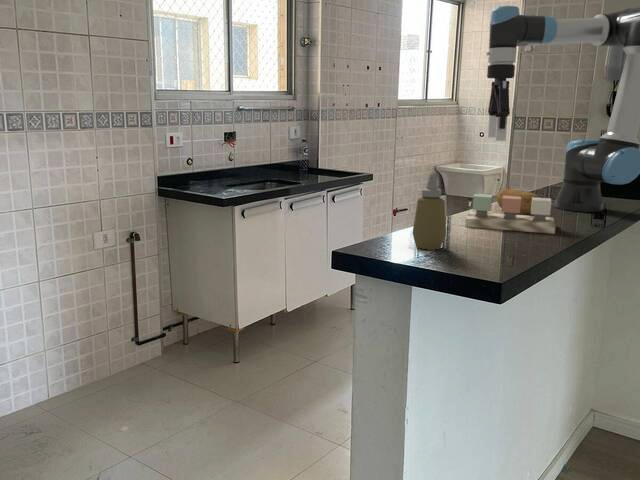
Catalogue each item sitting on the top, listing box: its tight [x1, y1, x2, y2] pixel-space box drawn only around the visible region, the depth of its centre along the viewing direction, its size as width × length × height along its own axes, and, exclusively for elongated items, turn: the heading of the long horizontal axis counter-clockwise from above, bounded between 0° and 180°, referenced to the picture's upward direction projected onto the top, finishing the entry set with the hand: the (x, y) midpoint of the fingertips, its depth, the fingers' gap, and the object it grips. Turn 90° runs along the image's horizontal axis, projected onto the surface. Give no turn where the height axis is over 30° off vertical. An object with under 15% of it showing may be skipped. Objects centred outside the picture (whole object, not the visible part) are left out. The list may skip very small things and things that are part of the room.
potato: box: [496, 188, 541, 216], centre depth 191 cm, size 10×14×8 cm
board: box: [464, 211, 556, 235], centre depth 174 cm, size 24×12×2 cm, turn 72°
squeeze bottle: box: [412, 173, 447, 251], centre depth 144 cm, size 8×8×18 cm
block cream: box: [530, 197, 552, 222], centre depth 170 cm, size 5×5×6 cm
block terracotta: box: [501, 196, 521, 219], centre depth 173 cm, size 5×5×6 cm
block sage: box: [472, 193, 493, 217], centre depth 175 cm, size 5×5×6 cm
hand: (496, 139), depth 177 cm, fingers open, 13 cm apart
